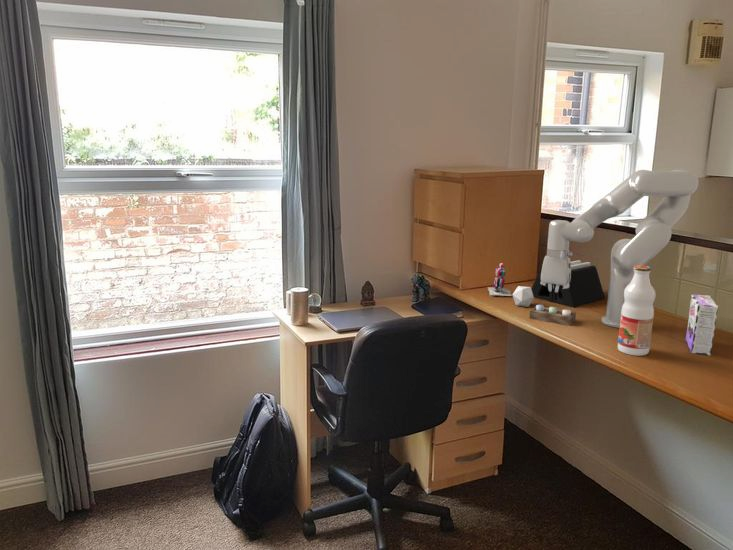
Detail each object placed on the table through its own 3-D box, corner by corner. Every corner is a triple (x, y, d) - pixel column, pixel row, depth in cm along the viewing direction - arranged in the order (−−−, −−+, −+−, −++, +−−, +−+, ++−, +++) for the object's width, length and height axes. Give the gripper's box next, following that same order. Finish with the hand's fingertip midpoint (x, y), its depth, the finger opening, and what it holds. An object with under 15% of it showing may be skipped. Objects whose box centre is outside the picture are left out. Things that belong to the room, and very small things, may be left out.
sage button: (557, 316, 220) (558, 307, 219) (555, 318, 217) (556, 309, 216) (549, 315, 221) (550, 306, 220) (547, 316, 219) (548, 308, 218)
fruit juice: (651, 357, 181) (661, 270, 174) (618, 354, 184) (627, 268, 177) (646, 347, 189) (656, 264, 183) (615, 344, 192) (624, 262, 186)
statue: (511, 300, 251) (515, 267, 245) (490, 299, 251) (493, 266, 246) (508, 290, 261) (511, 259, 256) (487, 289, 262) (490, 258, 256)
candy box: (684, 339, 197) (691, 293, 193) (704, 342, 195) (711, 295, 191) (690, 353, 185) (697, 303, 181) (711, 355, 183) (719, 305, 179)
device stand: (528, 296, 252) (530, 263, 249) (559, 289, 265) (562, 257, 262) (573, 308, 235) (576, 272, 231) (604, 299, 248) (607, 265, 245)
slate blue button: (544, 314, 222) (545, 305, 222) (542, 316, 220) (542, 307, 219) (537, 312, 224) (537, 304, 223) (534, 314, 222) (535, 306, 221)
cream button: (571, 318, 217) (571, 309, 216) (568, 320, 214) (569, 311, 214) (563, 317, 218) (563, 308, 218) (560, 319, 216) (561, 310, 215)
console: (575, 320, 218) (576, 312, 218) (569, 325, 212) (570, 317, 211) (536, 313, 227) (537, 306, 226) (529, 318, 220) (529, 310, 220)
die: (535, 305, 240) (525, 285, 243) (539, 300, 232) (529, 279, 234) (517, 313, 240) (507, 292, 242) (521, 308, 231) (510, 286, 234)
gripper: (580, 254, 213) (576, 302, 217) (540, 249, 221) (537, 296, 225) (575, 257, 207) (570, 307, 211) (534, 252, 215) (530, 300, 219)
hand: (553, 301), depth 218 cm, fingers closed
